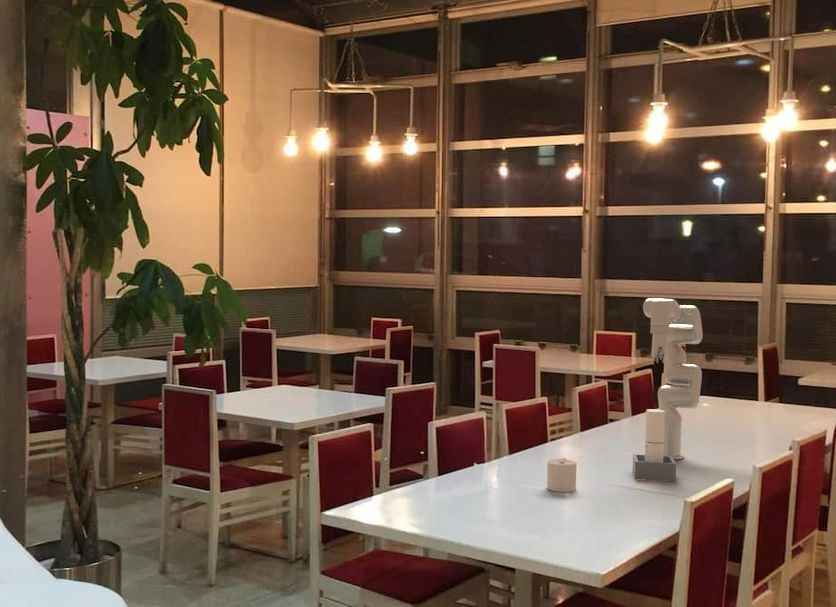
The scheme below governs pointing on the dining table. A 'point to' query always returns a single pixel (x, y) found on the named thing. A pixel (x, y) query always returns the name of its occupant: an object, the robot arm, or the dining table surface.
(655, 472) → the box
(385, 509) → the dining table surface
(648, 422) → the cylindrical container
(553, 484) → the toilet tissue
